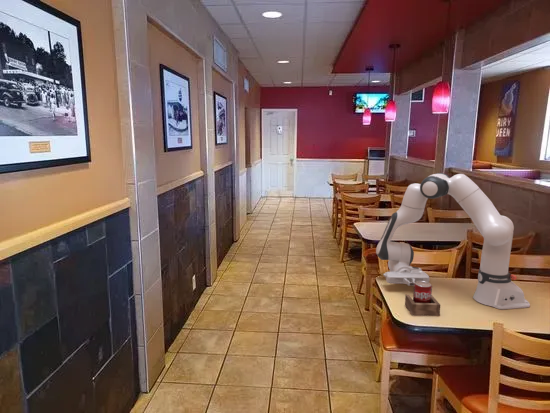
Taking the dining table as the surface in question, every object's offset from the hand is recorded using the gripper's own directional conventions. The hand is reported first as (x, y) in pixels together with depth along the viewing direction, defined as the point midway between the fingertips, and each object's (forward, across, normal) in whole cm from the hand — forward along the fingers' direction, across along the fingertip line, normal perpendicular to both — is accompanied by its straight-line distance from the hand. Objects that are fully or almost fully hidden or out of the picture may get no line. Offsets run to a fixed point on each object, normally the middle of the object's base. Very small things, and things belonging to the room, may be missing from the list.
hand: (411, 284), depth 179 cm
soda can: (+14, 0, +6) cm, 15 cm away
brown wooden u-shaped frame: (+14, 0, +6) cm, 15 cm away
